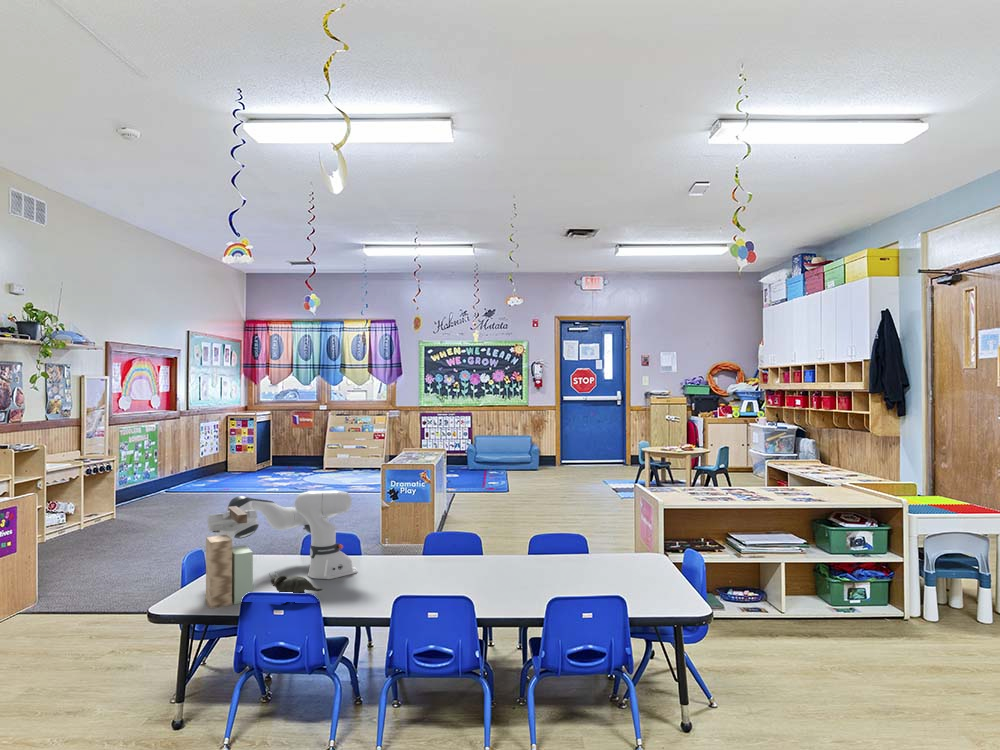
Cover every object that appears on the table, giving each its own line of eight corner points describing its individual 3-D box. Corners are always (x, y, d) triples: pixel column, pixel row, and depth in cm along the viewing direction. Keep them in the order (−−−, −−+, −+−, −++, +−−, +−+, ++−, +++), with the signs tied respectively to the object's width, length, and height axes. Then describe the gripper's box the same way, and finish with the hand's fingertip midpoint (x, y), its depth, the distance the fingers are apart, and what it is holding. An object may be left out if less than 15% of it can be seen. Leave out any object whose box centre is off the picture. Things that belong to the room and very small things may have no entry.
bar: (236, 513, 284) (236, 506, 284) (247, 522, 265) (247, 514, 265) (227, 514, 282) (227, 506, 282) (238, 523, 263) (238, 515, 263)
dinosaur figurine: (323, 597, 268) (323, 570, 268) (317, 604, 260) (317, 576, 260) (270, 598, 268) (270, 570, 268) (263, 605, 260) (263, 577, 260)
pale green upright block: (245, 591, 277) (245, 544, 277) (253, 600, 265) (253, 552, 265) (227, 594, 273) (227, 547, 273) (234, 604, 261) (234, 554, 261)
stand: (227, 596, 270) (227, 534, 270) (232, 604, 260) (232, 540, 261) (205, 600, 265) (205, 537, 266) (210, 608, 256) (210, 542, 256)
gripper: (254, 527, 291) (261, 516, 281) (205, 532, 280) (210, 521, 270) (253, 513, 294) (259, 502, 284) (204, 518, 283) (209, 507, 273)
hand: (235, 511), depth 277 cm, fingers closed on bar, 3 cm apart
